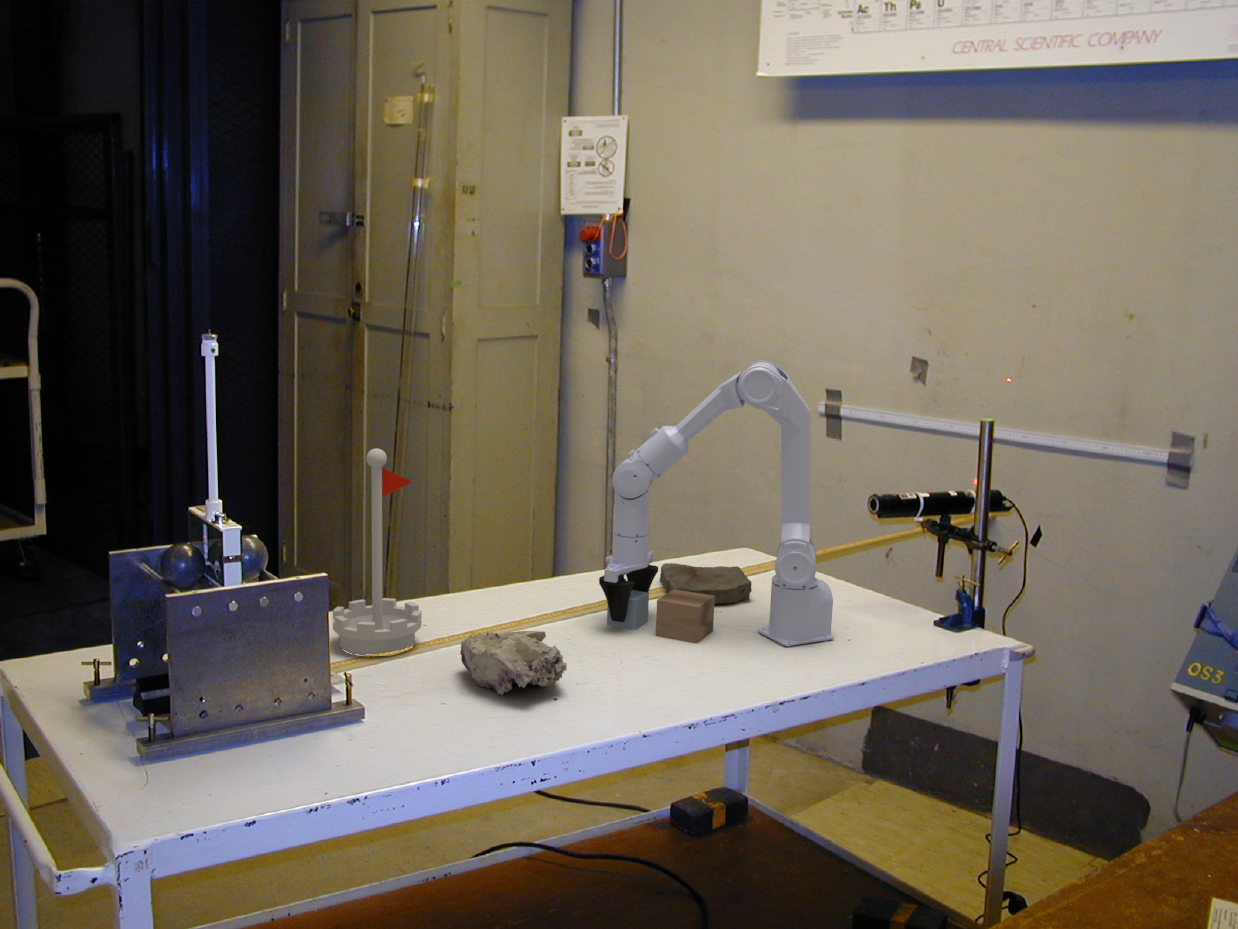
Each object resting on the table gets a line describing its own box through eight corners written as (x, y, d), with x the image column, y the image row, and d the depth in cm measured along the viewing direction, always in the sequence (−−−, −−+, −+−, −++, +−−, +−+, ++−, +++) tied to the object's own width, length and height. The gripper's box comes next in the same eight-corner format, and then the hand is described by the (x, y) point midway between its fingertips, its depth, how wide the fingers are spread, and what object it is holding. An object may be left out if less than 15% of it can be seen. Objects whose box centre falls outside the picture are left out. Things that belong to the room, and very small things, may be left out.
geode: (501, 695, 175) (439, 710, 162) (489, 632, 176) (426, 641, 163) (598, 675, 167) (541, 689, 154) (585, 609, 169) (527, 617, 155)
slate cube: (620, 617, 197) (621, 588, 196) (647, 622, 195) (648, 592, 194) (606, 625, 192) (607, 595, 191) (635, 630, 190) (636, 600, 189)
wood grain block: (672, 624, 194) (674, 589, 193) (712, 631, 191) (714, 595, 190) (655, 636, 188) (657, 600, 186) (696, 644, 185) (698, 607, 184)
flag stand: (337, 663, 171) (335, 457, 166) (329, 634, 183) (326, 442, 178) (428, 655, 175) (428, 455, 170) (413, 628, 187) (414, 440, 182)
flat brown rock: (658, 581, 219) (659, 559, 219) (738, 582, 221) (739, 560, 220) (669, 609, 203) (671, 585, 202) (755, 609, 204) (756, 586, 203)
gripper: (627, 521, 199) (624, 599, 201) (587, 539, 186) (585, 622, 188) (666, 526, 196) (662, 606, 198) (628, 545, 183) (625, 630, 185)
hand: (627, 614), depth 193 cm, fingers open, 7 cm apart
